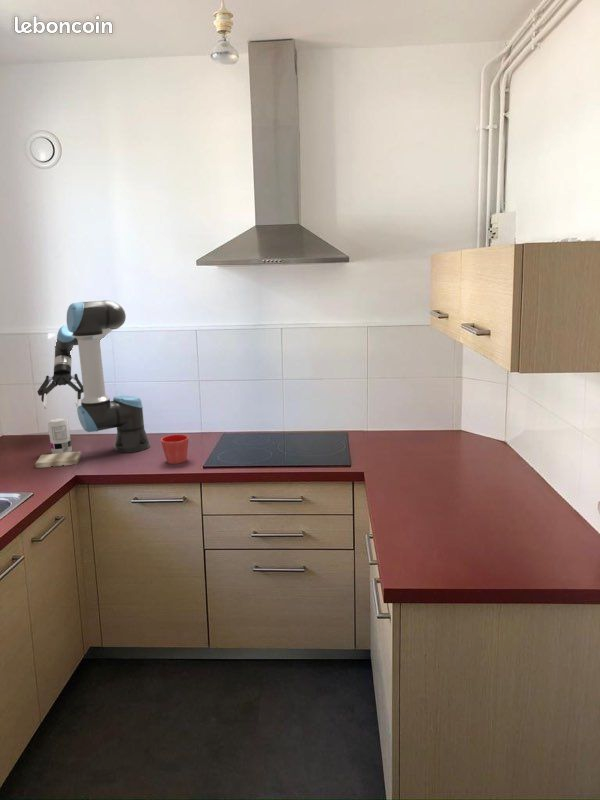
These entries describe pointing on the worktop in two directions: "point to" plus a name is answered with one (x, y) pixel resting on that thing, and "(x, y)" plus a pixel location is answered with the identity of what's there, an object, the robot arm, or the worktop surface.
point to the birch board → (58, 459)
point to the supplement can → (59, 435)
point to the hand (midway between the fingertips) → (60, 406)
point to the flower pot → (175, 448)
